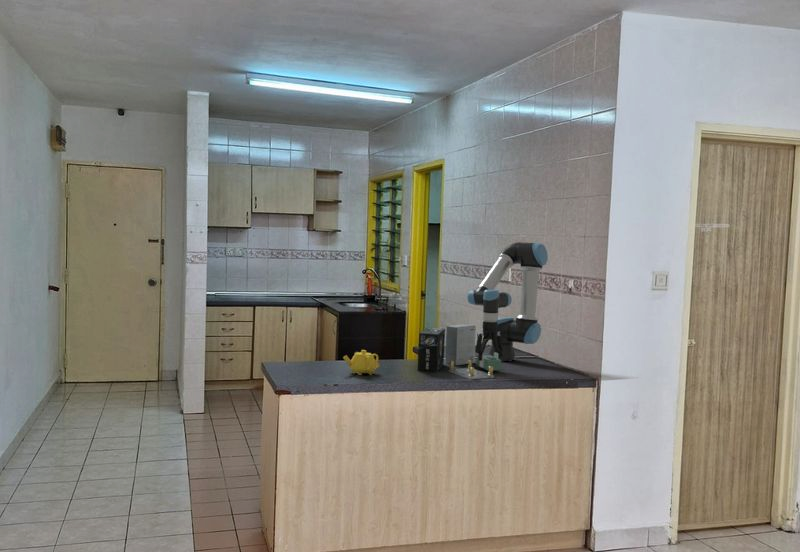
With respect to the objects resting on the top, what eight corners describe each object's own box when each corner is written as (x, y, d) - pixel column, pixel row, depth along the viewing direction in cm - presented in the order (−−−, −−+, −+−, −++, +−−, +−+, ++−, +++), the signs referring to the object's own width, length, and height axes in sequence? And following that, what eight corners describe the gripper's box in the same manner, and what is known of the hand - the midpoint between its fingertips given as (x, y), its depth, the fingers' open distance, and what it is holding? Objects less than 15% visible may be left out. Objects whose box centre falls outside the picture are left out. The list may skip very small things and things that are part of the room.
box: (437, 372, 353) (439, 333, 352) (417, 371, 354) (418, 332, 354) (444, 365, 375) (445, 328, 374) (425, 363, 377) (426, 327, 376)
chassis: (470, 370, 363) (471, 359, 362) (493, 377, 345) (494, 366, 345) (448, 371, 357) (448, 360, 356) (470, 379, 339) (471, 368, 339)
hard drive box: (463, 361, 390) (465, 323, 389) (474, 363, 385) (476, 325, 384) (444, 363, 379) (446, 325, 378) (455, 365, 374) (457, 327, 373)
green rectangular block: (489, 364, 371) (489, 353, 370) (500, 370, 357) (501, 358, 357) (476, 365, 369) (477, 354, 368) (487, 370, 355) (488, 359, 355)
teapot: (355, 369, 350) (355, 346, 350) (381, 372, 345) (382, 349, 345) (341, 374, 337) (342, 350, 336) (368, 377, 332) (369, 353, 331)
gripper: (502, 319, 369) (501, 363, 371) (468, 320, 360) (467, 366, 362) (511, 321, 363) (510, 366, 364) (477, 322, 353) (475, 369, 355)
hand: (488, 366), depth 363 cm, fingers closed on green rectangular block, 8 cm apart
